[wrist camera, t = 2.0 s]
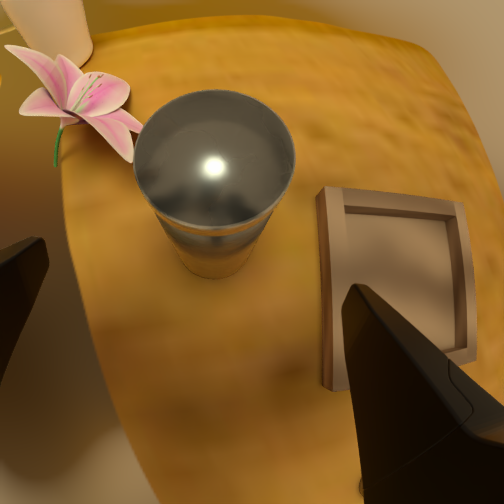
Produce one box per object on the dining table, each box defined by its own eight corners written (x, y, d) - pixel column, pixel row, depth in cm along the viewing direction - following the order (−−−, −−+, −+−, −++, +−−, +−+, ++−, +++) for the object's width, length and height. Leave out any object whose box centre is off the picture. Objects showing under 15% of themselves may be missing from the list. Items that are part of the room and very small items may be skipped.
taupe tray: (457, 358, 20) (476, 360, 18) (320, 384, 18) (332, 391, 16) (446, 211, 22) (462, 202, 20) (313, 199, 21) (324, 186, 19)
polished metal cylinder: (252, 280, 19) (301, 229, 8) (174, 279, 18) (123, 228, 8) (251, 207, 20) (289, 94, 9) (178, 206, 19) (146, 90, 9)
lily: (145, 231, 20) (189, 110, 13) (-16, 223, 14) (-43, 96, 7) (144, 125, 25) (177, 33, 18) (26, 116, 20) (35, 18, 13)
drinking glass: (55, 45, 21) (15, -59, 7) (110, 35, 22) (83, -86, 8) (30, 90, 20) (-33, -21, 5) (88, 80, 21) (38, -58, 6)
